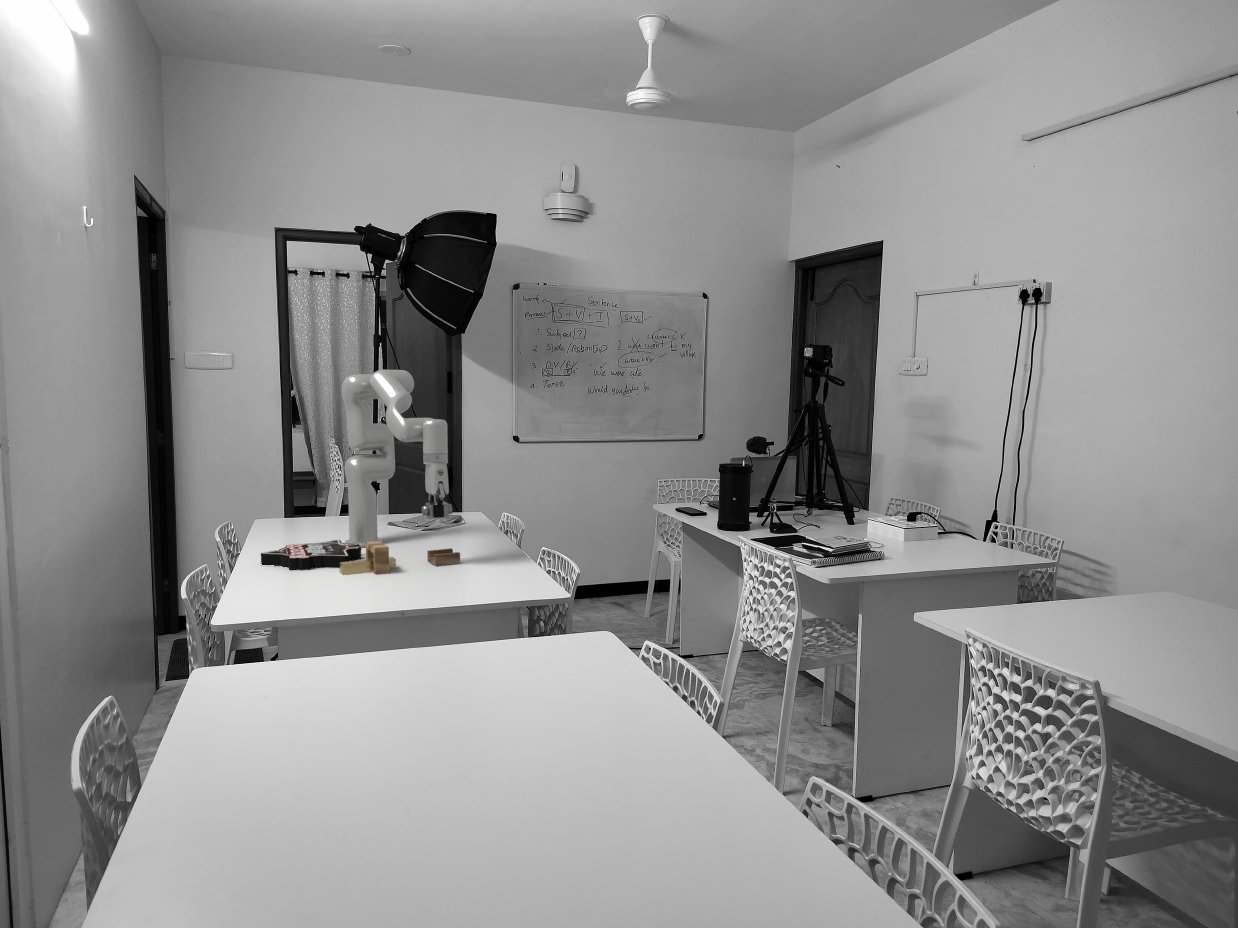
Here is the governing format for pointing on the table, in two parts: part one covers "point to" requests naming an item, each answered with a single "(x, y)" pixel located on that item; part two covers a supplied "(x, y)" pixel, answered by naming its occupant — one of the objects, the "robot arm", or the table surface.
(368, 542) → the wooden arch block
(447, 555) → the v block
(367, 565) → the bar
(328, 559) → the wall plaque
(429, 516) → the grey motor
